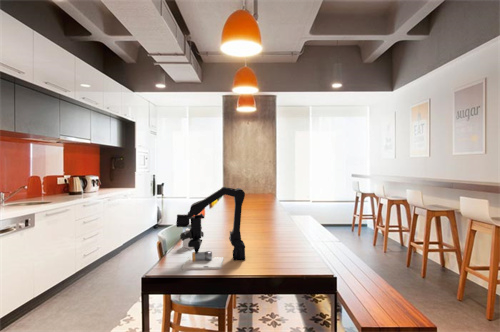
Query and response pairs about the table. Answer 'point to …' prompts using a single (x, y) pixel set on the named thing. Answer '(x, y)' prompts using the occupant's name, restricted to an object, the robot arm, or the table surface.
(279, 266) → the table surface
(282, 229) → the table surface
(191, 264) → the base
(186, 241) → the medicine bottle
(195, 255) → the lock lever
